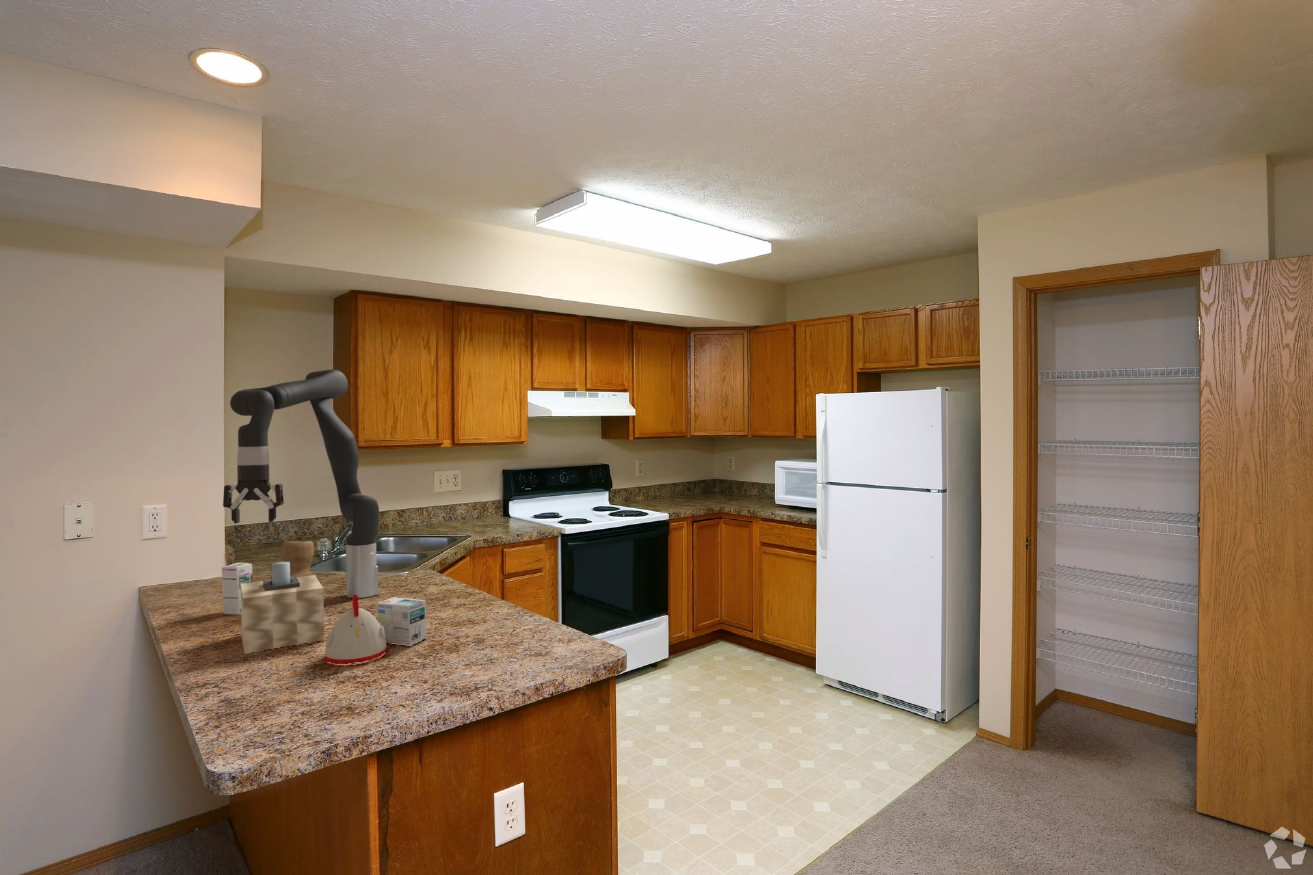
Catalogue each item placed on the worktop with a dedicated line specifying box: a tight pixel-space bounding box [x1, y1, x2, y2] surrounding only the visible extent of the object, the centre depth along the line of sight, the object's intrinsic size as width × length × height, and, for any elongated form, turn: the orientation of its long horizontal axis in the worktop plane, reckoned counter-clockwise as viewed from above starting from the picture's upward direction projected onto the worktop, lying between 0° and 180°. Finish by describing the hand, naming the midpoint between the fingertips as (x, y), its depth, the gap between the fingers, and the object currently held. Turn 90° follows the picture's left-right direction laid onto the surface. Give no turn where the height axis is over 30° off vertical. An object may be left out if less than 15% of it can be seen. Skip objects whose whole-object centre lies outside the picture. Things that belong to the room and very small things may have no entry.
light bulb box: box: [376, 596, 427, 645], centre depth 178 cm, size 11×7×11 cm, turn 71°
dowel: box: [271, 561, 290, 585], centre depth 181 cm, size 4×4×12 cm
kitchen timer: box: [324, 595, 388, 664], centre depth 167 cm, size 14×14×15 cm
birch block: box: [240, 575, 325, 655], centre depth 181 cm, size 18×18×14 cm
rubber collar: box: [262, 577, 300, 591], centre depth 181 cm, size 8×8×1 cm
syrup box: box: [221, 562, 254, 616], centre depth 206 cm, size 6×6×14 cm
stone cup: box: [269, 540, 318, 580], centre depth 244 cm, size 15×12×15 cm
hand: (254, 522), depth 185 cm, fingers open, 8 cm apart
